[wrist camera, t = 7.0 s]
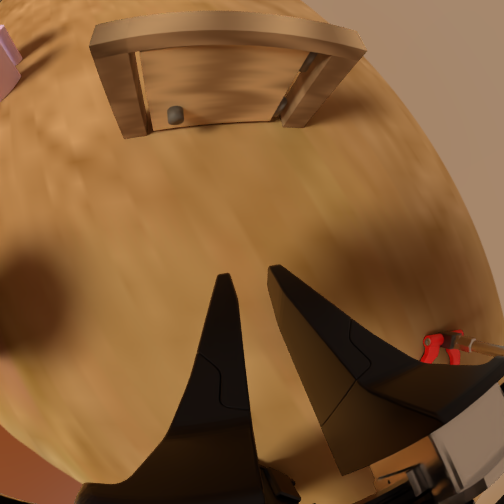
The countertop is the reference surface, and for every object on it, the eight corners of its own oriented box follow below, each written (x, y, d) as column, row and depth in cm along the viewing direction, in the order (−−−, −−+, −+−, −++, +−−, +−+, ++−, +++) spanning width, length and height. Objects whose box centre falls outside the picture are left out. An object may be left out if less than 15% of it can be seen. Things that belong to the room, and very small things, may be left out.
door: (276, 109, 23) (318, 39, 14) (282, 130, 23) (328, 62, 14) (152, 118, 21) (140, 39, 11) (153, 141, 21) (138, 64, 11)
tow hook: (445, 394, 26) (459, 327, 27) (518, 424, 14) (542, 342, 14) (402, 410, 25) (418, 334, 25) (482, 456, 12) (516, 359, 13)
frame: (298, 110, 24) (356, 31, 13) (303, 127, 24) (367, 50, 13) (124, 119, 21) (95, 25, 10) (123, 138, 20) (88, 46, 9)
